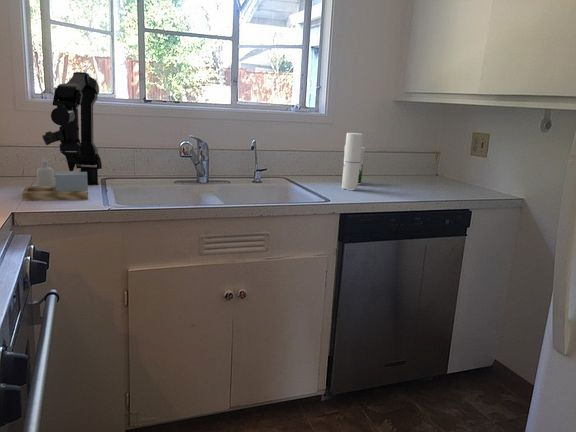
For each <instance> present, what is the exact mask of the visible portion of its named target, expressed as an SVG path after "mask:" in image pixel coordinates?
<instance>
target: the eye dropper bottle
mask: <svg viewBox="0 0 576 432" xmlns="http://www.w3.org/2000/svg"><path fill="white" fill-rule="evenodd" d="M49 166H50V165H49V161H48V160H47V158H46V156H43V157H42V160H40V167H38V168H37V169H36V186H55V174H54V173H55V171H54V169H53V168H52V167H49Z"/></svg>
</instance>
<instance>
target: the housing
mask: <svg viewBox="0 0 576 432" xmlns="http://www.w3.org/2000/svg"><path fill="white" fill-rule="evenodd" d="M54 180H55V186H56V191H88V192H89V190H88V189H89V187H88V186H89V185H88V183H87V172H79V171H56V172H55V174H54Z"/></svg>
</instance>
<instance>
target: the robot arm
mask: <svg viewBox="0 0 576 432" xmlns="http://www.w3.org/2000/svg"><path fill="white" fill-rule="evenodd" d="M99 93H100V87H99V84H98V81H97V80H96V79H95V78H93V77H91V76H90V74H89V73H87V72H83V71H81V72H80V71H75V72H73V74H72V77H70V79H69V80H68V81H67V82H66V83H60V84H58V85H57V86H56V88H55V89H54V94H53V100H52V106H54V107H55V106H56V107H55V108H54V109H52V111H51V113H50V119H51V121H52V122H53V123H54V124H55V125H57V126H59V128H58V129H59V130H56V131H51V130H49V131H46V132H45V134H42V139H43V141H44V144H45V146H48V145H51V144H53V143H56V142H59V151H60V154H62V155H63V156H65V159H66V163H67V166H68V172H74V170H75V168H76V169H80V170H79V171H78V172H87V183H88V186H89V185H91V186H92V185H99V174H98V173H99V171H98V170H102V169H103V164H102V158H101V156H100V153H99V151H98V150H99V149H98V148H97V145H96V144H95V143H94V104H95V103H96V101H97V100H98V95H99ZM79 107H80V121H79ZM79 122H80V123H79Z"/></svg>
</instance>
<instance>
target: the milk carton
mask: <svg viewBox="0 0 576 432" xmlns="http://www.w3.org/2000/svg"><path fill="white" fill-rule="evenodd" d="M343 146H344V150H343V151H344V152H343V153H344V154H343V155H344V156H345V145H343ZM365 151H366V147H364V146H362V148H361V158H360V168H359V178H358V183H362V177H363V168H364V167H363V166H364V158H365V157H364V156H365ZM344 156H343V157H344ZM343 167H344V163H343V165H342V168H343ZM341 178H343V174H342V176H341Z"/></svg>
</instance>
